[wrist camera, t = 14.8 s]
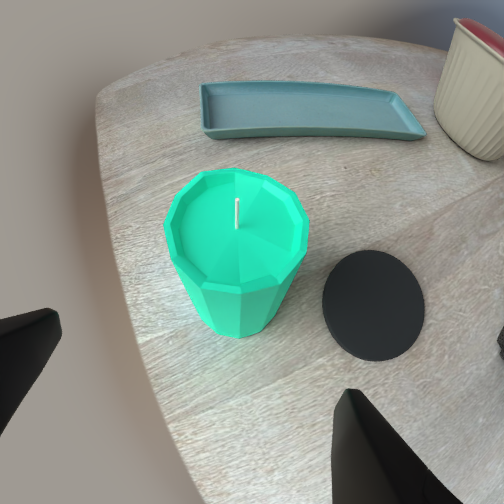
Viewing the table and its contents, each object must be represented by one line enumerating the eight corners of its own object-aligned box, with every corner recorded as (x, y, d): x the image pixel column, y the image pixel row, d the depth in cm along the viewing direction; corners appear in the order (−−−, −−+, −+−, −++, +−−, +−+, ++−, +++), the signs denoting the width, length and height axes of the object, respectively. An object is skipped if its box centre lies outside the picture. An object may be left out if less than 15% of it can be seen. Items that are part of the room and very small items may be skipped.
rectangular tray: (391, 102, 34) (396, 89, 32) (421, 147, 30) (430, 133, 28) (200, 99, 31) (198, 82, 29) (202, 149, 27) (200, 131, 25)
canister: (519, 189, 30) (589, 102, 11) (443, 166, 29) (524, 33, 10) (475, 113, 37) (520, 32, 18) (400, 85, 37) (439, -20, 18)
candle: (181, 285, 21) (131, 183, 11) (248, 246, 23) (258, 125, 12) (224, 354, 19) (207, 315, 9) (294, 309, 21) (352, 222, 10)
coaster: (392, 382, 19) (395, 382, 18) (299, 318, 21) (300, 316, 20) (433, 291, 22) (437, 289, 21) (355, 233, 24) (358, 230, 24)
